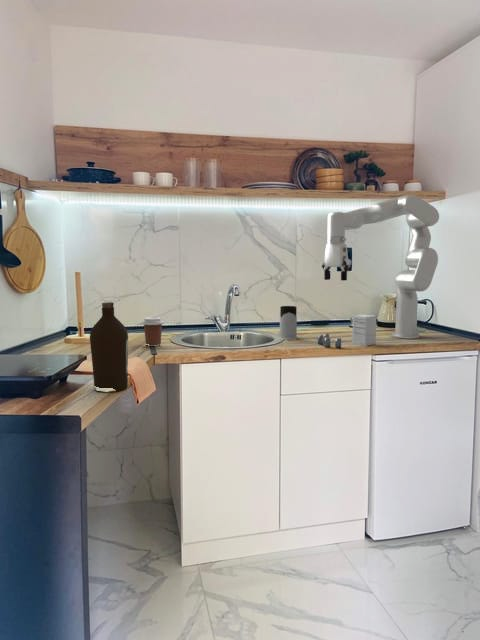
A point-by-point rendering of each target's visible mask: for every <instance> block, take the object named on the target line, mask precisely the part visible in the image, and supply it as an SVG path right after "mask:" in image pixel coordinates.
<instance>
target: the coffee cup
mask: <svg viewBox="0 0 480 640" xmlns="http://www.w3.org/2000/svg"><path fill="white" fill-rule="evenodd" d="M141 324H142V325H143V330H144V338H145V345H146V344H149V345H155V346H157V347H159V346H158V345H162V330H163V329H162V328H163V324H164V321H163V320H162V318H161V317H159V316H149V317H147V316H146V317H144V320H143V321H142V323H141Z"/></svg>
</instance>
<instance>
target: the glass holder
mask: <svg viewBox="0 0 480 640" xmlns="http://www.w3.org/2000/svg"><path fill="white" fill-rule="evenodd" d="M279 310H280V311H279V314H280V315H279V337H280V338H283V339H284V340H283V341H295V340H296V341H297V340H298V336H297V333H298V332H297V329H298V328H297V325H298V324H297V323H298V321H297V320H298V317H297V306H295V305H282V306H280V309H279Z"/></svg>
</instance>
